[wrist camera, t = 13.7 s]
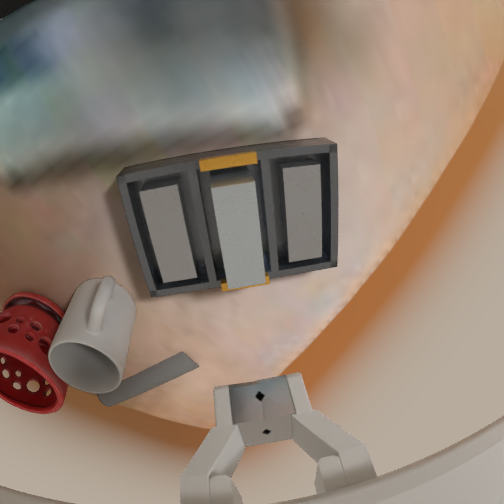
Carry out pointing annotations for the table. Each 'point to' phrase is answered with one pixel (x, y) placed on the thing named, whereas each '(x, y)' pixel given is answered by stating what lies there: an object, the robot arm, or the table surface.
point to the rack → (204, 220)
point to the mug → (94, 336)
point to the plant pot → (30, 352)
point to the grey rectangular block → (238, 225)
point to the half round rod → (149, 379)
